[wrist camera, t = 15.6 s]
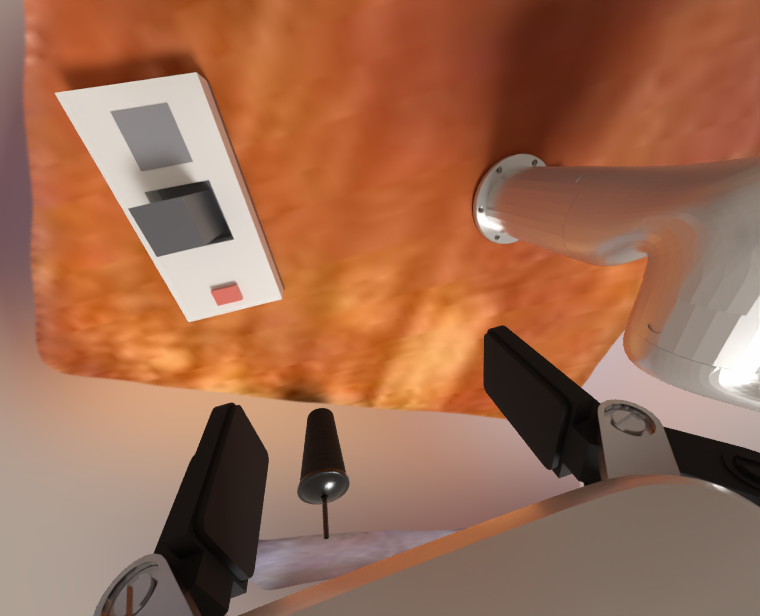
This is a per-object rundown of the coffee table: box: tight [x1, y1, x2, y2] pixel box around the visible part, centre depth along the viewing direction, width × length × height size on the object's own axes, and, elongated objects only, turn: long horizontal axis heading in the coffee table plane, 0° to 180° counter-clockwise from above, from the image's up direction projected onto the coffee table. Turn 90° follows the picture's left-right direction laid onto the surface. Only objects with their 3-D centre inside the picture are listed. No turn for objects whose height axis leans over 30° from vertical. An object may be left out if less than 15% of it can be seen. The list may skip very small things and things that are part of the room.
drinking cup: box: [297, 408, 349, 539], centre depth 45 cm, size 8×8×20 cm
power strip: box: [55, 72, 284, 322], centre depth 33 cm, size 12×24×5 cm, turn 10°
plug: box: [128, 190, 228, 257], centre depth 30 cm, size 4×4×9 cm
